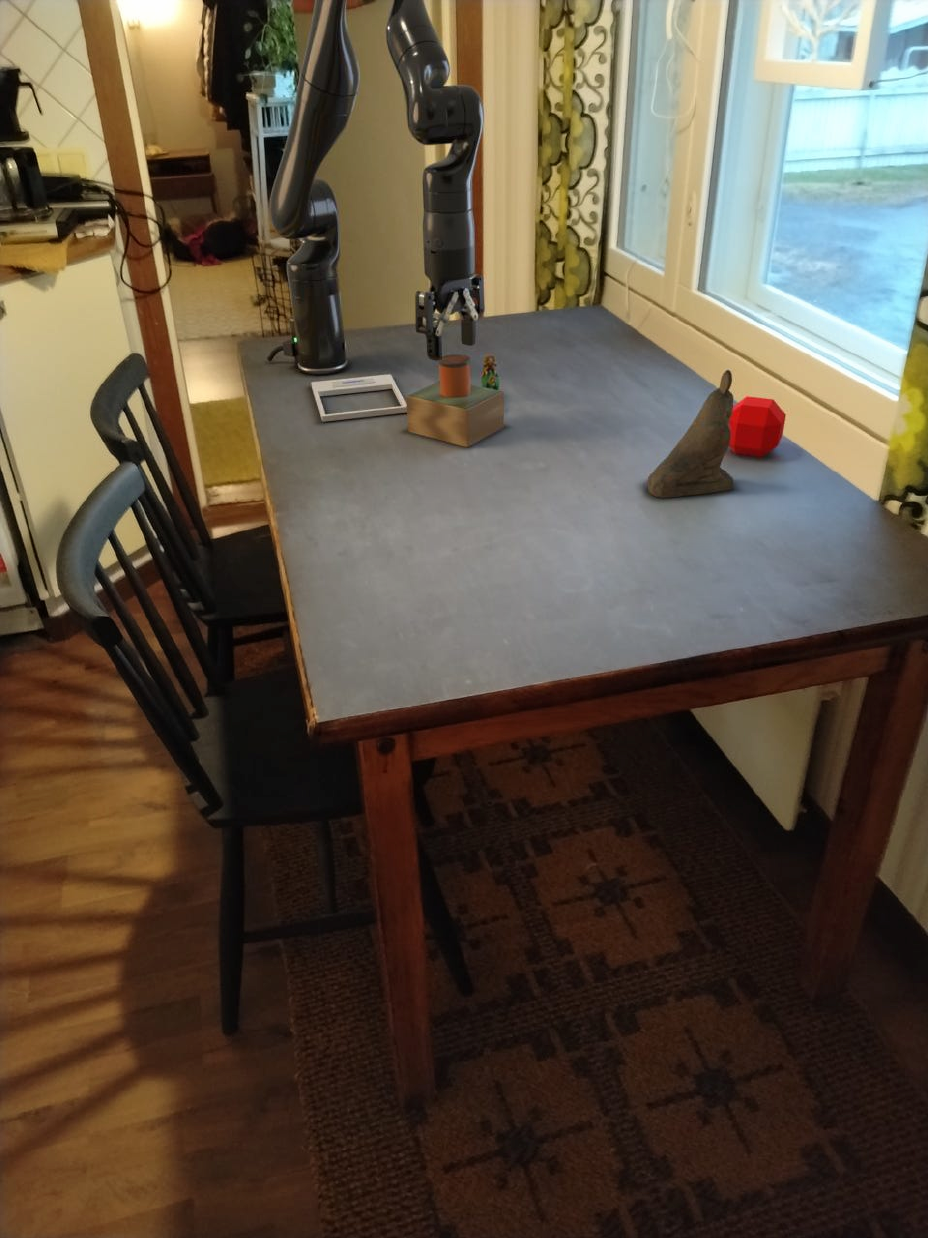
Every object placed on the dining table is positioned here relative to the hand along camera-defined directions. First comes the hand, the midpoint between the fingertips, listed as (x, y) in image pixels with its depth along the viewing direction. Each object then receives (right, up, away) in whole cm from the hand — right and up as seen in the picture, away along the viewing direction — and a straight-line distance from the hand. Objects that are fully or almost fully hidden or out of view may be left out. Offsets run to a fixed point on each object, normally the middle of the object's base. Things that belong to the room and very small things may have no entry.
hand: (452, 351), depth 149 cm
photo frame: (-17, -3, +20) cm, 26 cm away
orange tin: (0, -6, +4) cm, 7 cm away
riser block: (+1, -11, +7) cm, 13 cm away
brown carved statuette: (+34, -23, -14) cm, 43 cm away
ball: (+45, -16, -4) cm, 48 cm away
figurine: (+6, -4, +18) cm, 19 cm away
